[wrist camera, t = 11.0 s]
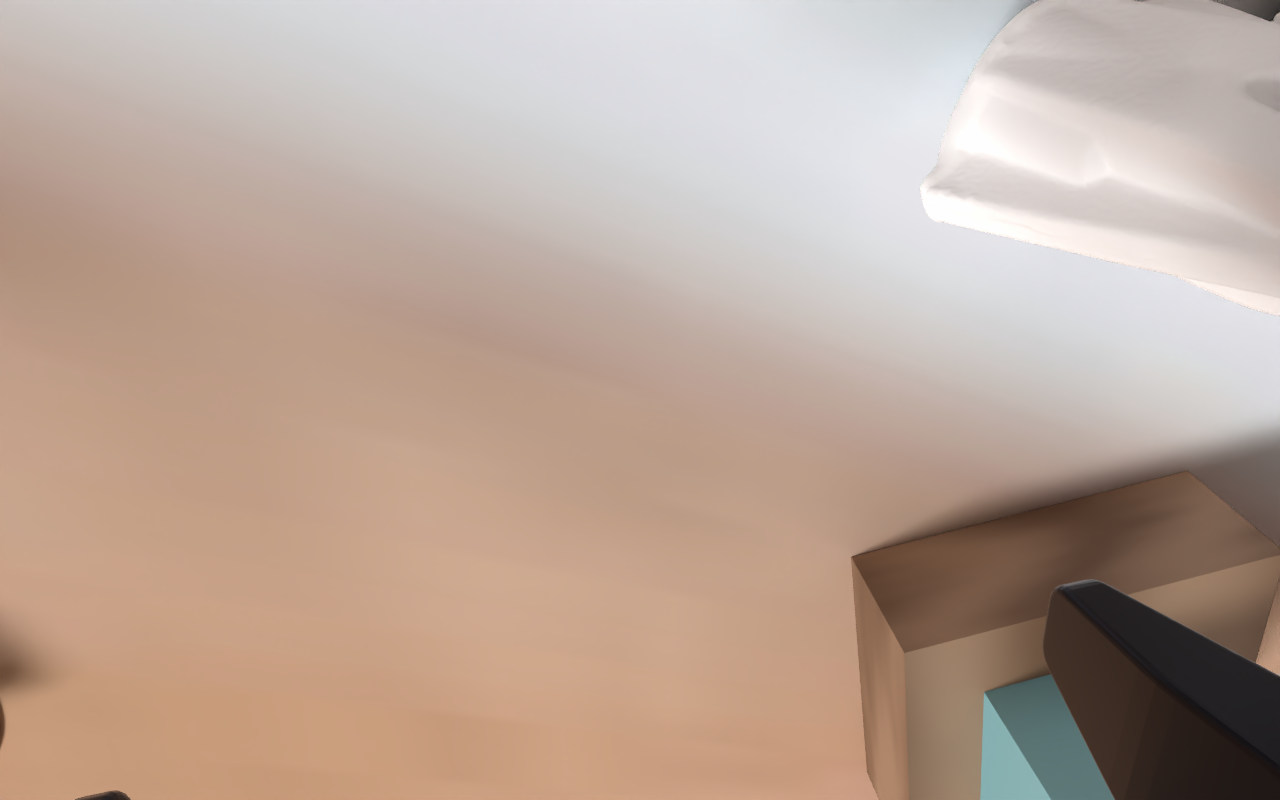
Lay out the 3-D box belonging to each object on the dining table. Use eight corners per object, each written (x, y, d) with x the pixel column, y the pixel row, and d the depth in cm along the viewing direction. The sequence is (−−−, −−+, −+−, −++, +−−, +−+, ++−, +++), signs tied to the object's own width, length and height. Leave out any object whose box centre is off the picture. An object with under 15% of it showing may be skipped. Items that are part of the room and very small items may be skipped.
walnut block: (1178, 462, 25) (1286, 553, 22) (1137, 688, 31) (1219, 790, 27) (846, 547, 25) (904, 653, 22) (862, 762, 30) (911, 873, 27)
